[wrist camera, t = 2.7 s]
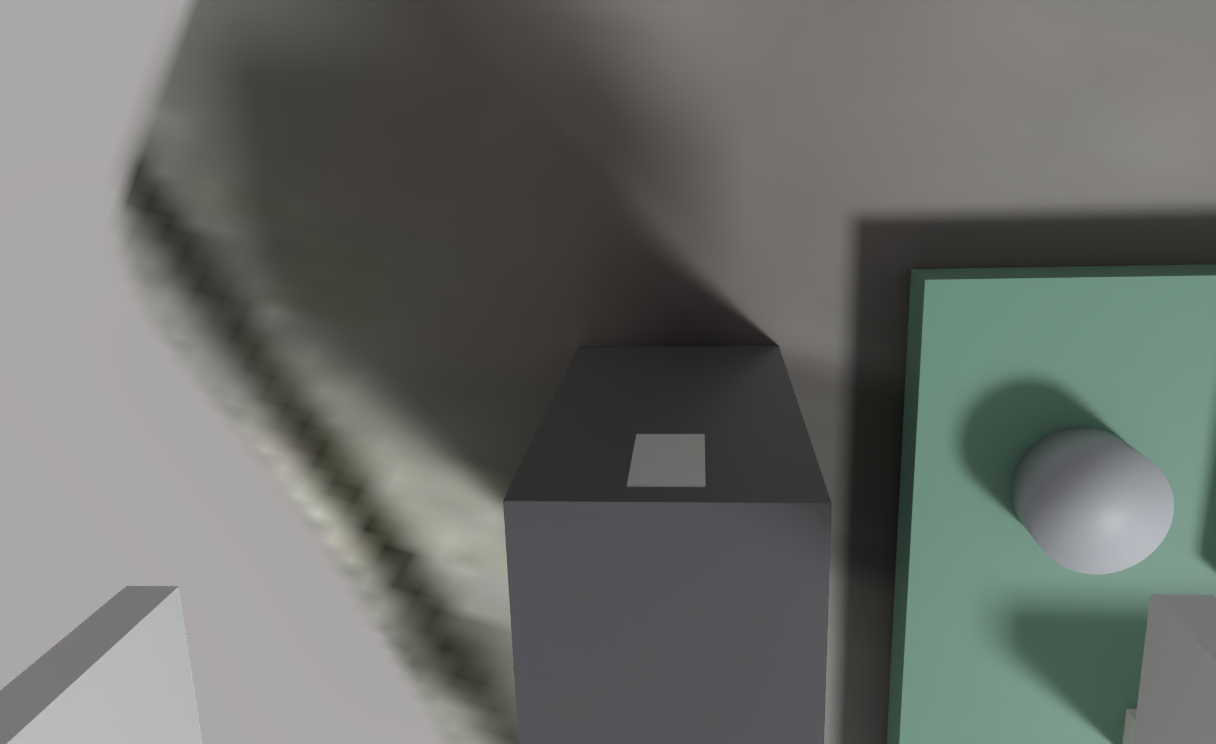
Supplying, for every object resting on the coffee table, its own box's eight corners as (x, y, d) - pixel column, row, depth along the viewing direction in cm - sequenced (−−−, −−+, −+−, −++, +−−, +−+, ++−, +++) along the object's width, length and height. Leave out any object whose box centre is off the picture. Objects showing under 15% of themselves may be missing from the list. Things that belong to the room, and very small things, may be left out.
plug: (580, 345, 20) (503, 499, 12) (778, 344, 19) (832, 502, 12) (588, 571, 21) (525, 839, 13) (774, 573, 21) (820, 852, 13)
